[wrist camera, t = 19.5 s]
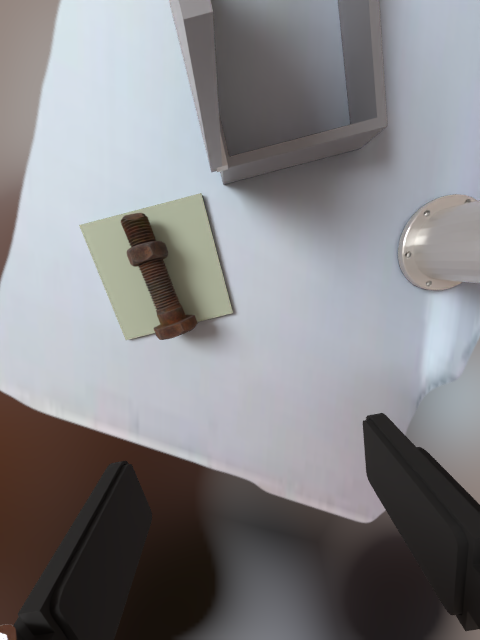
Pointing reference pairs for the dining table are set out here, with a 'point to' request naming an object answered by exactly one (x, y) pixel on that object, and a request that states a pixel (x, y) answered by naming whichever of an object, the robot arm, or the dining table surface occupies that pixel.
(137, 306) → the mat
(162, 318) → the bolt
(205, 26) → the case
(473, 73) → the dining table surface
